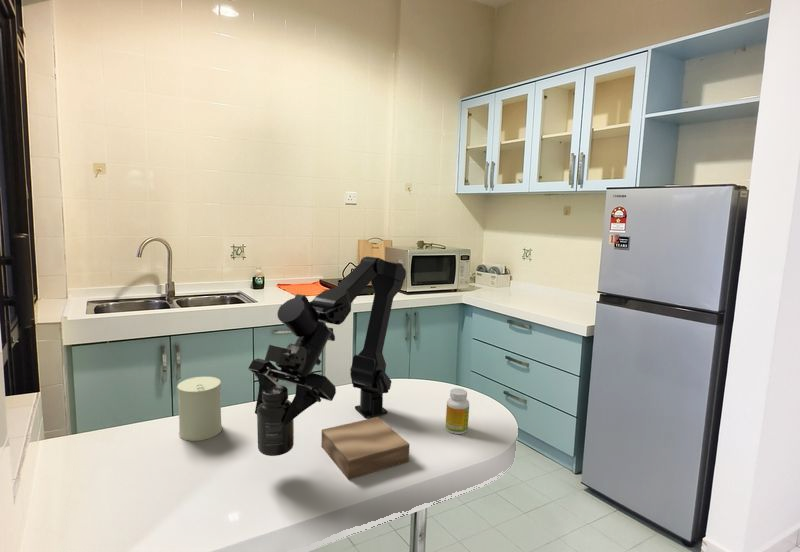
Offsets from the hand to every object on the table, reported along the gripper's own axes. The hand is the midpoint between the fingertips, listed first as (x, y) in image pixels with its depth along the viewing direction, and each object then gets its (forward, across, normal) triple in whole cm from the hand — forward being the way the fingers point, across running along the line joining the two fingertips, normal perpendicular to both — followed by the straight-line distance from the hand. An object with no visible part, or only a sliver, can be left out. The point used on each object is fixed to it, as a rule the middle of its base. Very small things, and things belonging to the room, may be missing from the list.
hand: (270, 418), depth 91 cm
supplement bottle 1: (+4, 0, +6) cm, 7 cm away
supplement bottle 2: (-18, +23, +37) cm, 47 cm away
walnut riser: (-3, +10, +21) cm, 24 cm away
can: (+5, -27, +12) cm, 30 cm away
